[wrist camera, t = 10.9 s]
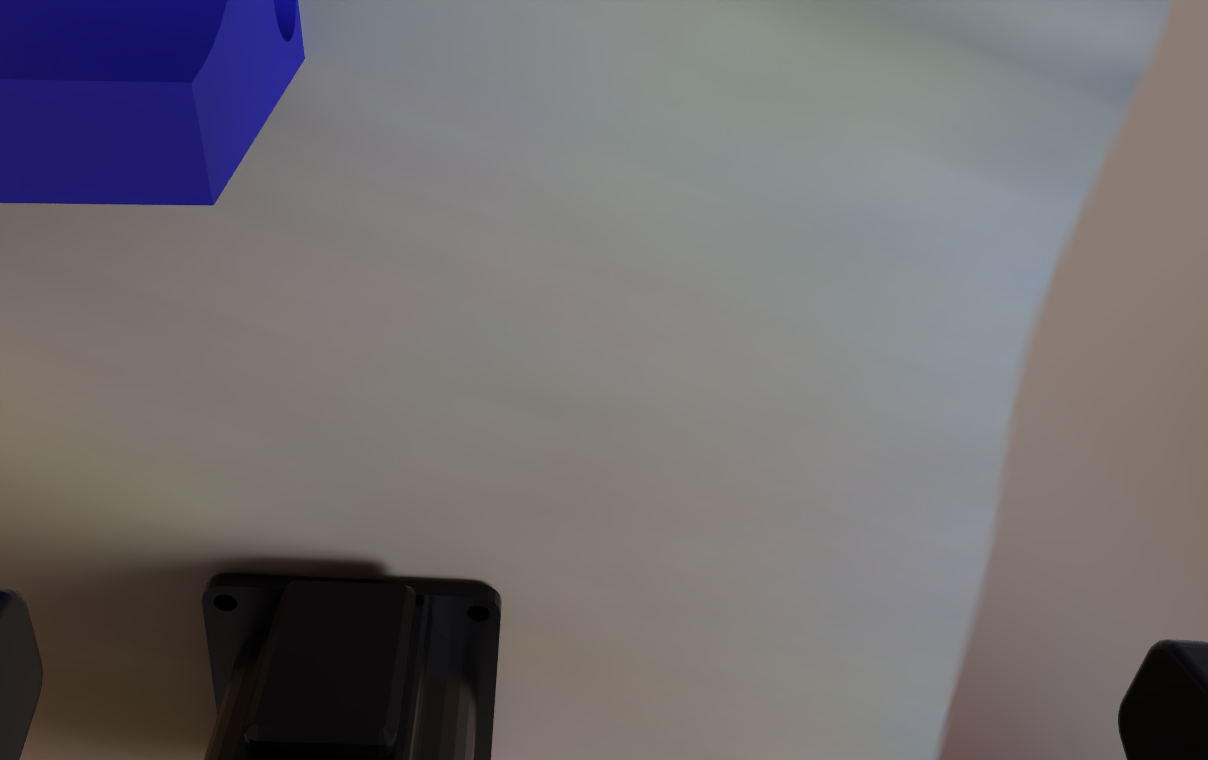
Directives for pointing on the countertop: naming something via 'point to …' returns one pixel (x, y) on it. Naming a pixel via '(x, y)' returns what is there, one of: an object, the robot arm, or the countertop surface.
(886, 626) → the countertop surface
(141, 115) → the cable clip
